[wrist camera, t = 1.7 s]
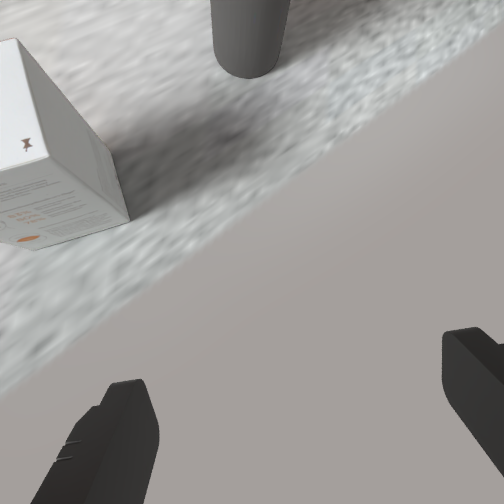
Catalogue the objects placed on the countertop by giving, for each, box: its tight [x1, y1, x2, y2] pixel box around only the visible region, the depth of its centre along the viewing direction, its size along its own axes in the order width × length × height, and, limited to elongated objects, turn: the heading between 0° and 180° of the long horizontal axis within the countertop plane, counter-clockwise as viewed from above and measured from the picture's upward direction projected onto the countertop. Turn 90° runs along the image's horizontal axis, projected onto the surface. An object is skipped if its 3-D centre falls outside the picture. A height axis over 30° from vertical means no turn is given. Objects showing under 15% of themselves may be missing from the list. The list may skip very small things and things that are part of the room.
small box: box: [0, 38, 130, 251], centre depth 22 cm, size 8×6×13 cm
